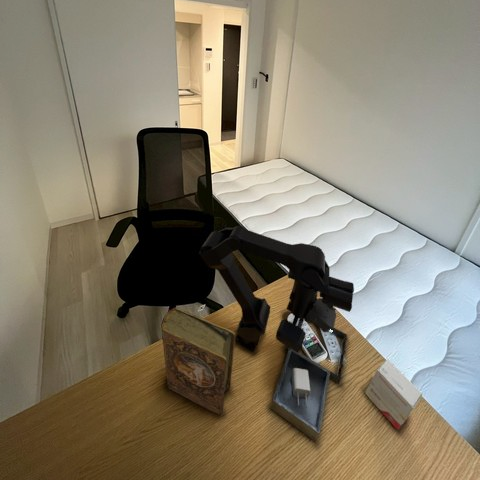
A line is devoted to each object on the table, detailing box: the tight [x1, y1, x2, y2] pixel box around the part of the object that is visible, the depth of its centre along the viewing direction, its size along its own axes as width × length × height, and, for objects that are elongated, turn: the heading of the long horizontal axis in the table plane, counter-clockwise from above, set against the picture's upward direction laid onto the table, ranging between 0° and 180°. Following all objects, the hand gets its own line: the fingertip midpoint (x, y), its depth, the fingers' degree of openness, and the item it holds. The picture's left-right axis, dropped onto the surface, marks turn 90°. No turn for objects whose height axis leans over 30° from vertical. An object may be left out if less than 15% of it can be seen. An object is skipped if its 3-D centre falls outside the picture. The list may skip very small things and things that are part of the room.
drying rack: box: [284, 320, 348, 385], centre depth 74 cm, size 16×14×4 cm
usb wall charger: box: [292, 368, 310, 408], centre depth 63 cm, size 4×7×4 cm, turn 174°
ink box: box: [365, 358, 423, 431], centre depth 61 cm, size 9×5×12 cm, turn 33°
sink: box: [270, 348, 331, 442], centre depth 63 cm, size 11×13×4 cm
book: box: [160, 306, 236, 416], centre depth 58 cm, size 16×6×25 cm, turn 71°
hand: (293, 329), depth 67 cm, fingers open, 9 cm apart
